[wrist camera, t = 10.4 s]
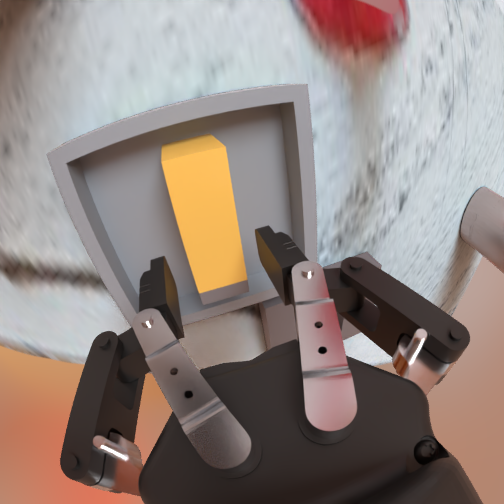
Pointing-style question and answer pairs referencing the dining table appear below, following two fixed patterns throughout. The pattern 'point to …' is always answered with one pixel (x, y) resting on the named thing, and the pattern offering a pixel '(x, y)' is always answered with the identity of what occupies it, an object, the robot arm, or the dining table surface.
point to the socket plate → (283, 321)
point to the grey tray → (158, 198)
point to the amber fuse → (206, 215)
